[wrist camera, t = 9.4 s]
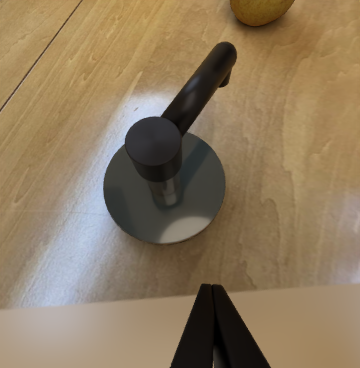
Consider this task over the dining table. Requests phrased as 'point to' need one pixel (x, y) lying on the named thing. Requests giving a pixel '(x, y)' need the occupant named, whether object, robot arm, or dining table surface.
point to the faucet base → (166, 195)
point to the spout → (177, 118)
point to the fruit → (259, 10)
